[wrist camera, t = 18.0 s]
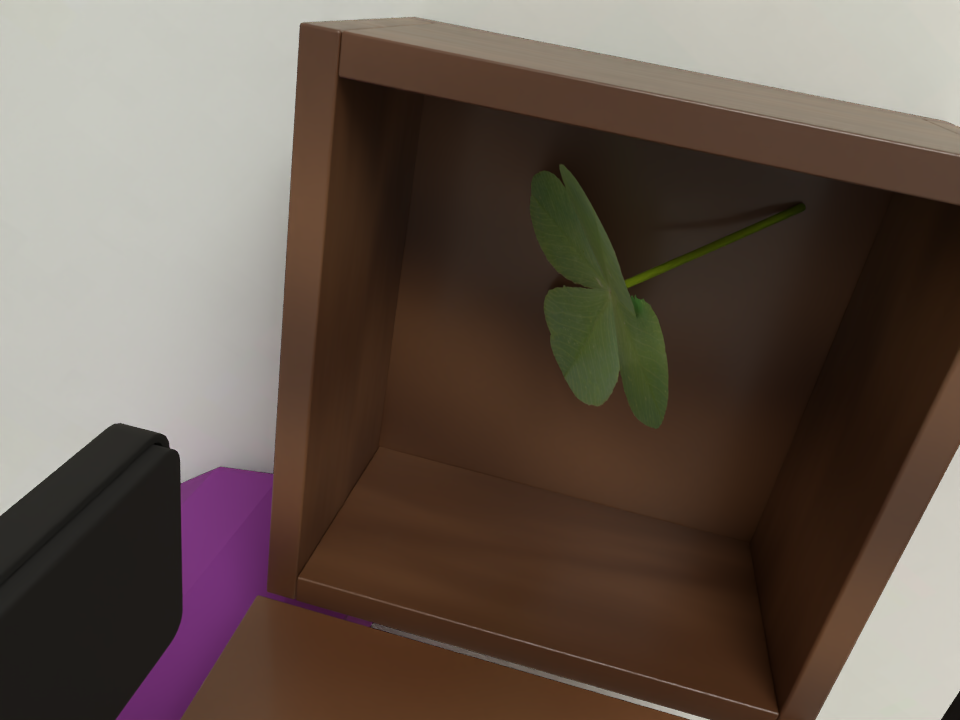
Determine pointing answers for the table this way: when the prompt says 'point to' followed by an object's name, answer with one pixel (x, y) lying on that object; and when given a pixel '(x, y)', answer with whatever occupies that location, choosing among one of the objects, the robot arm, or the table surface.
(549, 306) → the seedling
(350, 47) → the box
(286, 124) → the table surface
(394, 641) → the lid
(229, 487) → the mug
